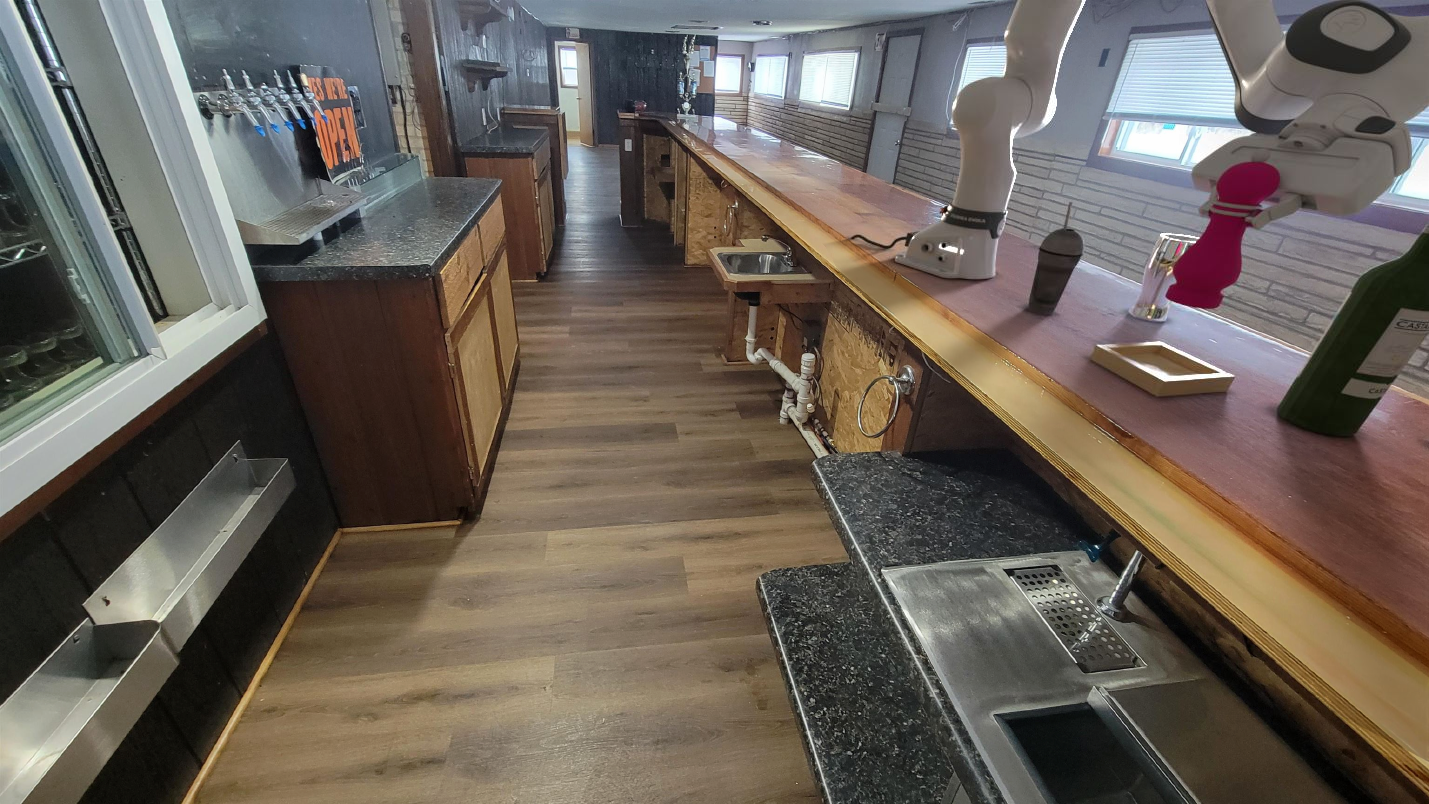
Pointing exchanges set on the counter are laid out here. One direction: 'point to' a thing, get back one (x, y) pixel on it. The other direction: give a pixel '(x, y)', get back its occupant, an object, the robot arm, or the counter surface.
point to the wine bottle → (1363, 346)
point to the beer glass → (1160, 277)
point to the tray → (1161, 369)
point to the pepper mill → (1223, 234)
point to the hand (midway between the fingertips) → (1226, 219)
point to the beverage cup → (1055, 267)
